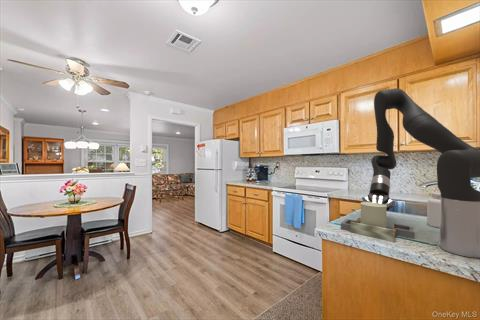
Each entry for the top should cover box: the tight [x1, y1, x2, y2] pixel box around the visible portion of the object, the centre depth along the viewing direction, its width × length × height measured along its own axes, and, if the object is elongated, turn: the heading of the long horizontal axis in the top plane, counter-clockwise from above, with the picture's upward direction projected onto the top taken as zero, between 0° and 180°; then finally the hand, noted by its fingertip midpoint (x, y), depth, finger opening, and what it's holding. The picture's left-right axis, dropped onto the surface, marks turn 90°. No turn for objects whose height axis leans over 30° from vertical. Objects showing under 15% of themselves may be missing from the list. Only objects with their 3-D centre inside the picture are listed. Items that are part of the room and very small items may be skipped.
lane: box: [349, 217, 399, 243], centre depth 85 cm, size 14×17×4 cm
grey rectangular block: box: [360, 201, 387, 228], centre depth 84 cm, size 9×9×12 cm
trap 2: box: [396, 223, 415, 239], centre depth 82 cm, size 5×8×2 cm, turn 139°
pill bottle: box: [426, 192, 441, 229], centre depth 93 cm, size 8×8×15 cm
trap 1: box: [340, 218, 357, 232], centre depth 89 cm, size 4×9×2 cm, turn 139°
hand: (375, 218), depth 88 cm, fingers closed
